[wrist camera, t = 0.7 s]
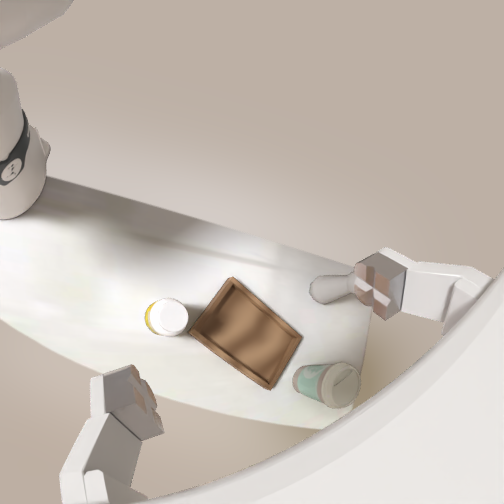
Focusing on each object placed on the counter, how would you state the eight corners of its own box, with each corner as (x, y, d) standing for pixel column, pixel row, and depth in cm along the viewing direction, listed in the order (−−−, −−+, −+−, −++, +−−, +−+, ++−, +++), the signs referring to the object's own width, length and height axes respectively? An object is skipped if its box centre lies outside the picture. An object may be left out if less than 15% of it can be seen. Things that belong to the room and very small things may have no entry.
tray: (187, 332, 45) (191, 333, 43) (228, 278, 51) (232, 276, 49) (264, 388, 49) (270, 390, 47) (295, 336, 55) (302, 337, 53)
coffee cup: (322, 360, 57) (365, 363, 46) (316, 399, 54) (358, 408, 44) (290, 357, 53) (333, 361, 43) (283, 399, 50) (325, 411, 40)
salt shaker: (330, 290, 62) (376, 281, 51) (318, 310, 59) (365, 304, 48) (314, 271, 61) (360, 259, 50) (301, 291, 58) (348, 281, 47)
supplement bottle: (174, 299, 45) (190, 294, 37) (179, 332, 44) (197, 334, 36) (141, 302, 43) (150, 298, 34) (146, 336, 42) (157, 341, 33)
